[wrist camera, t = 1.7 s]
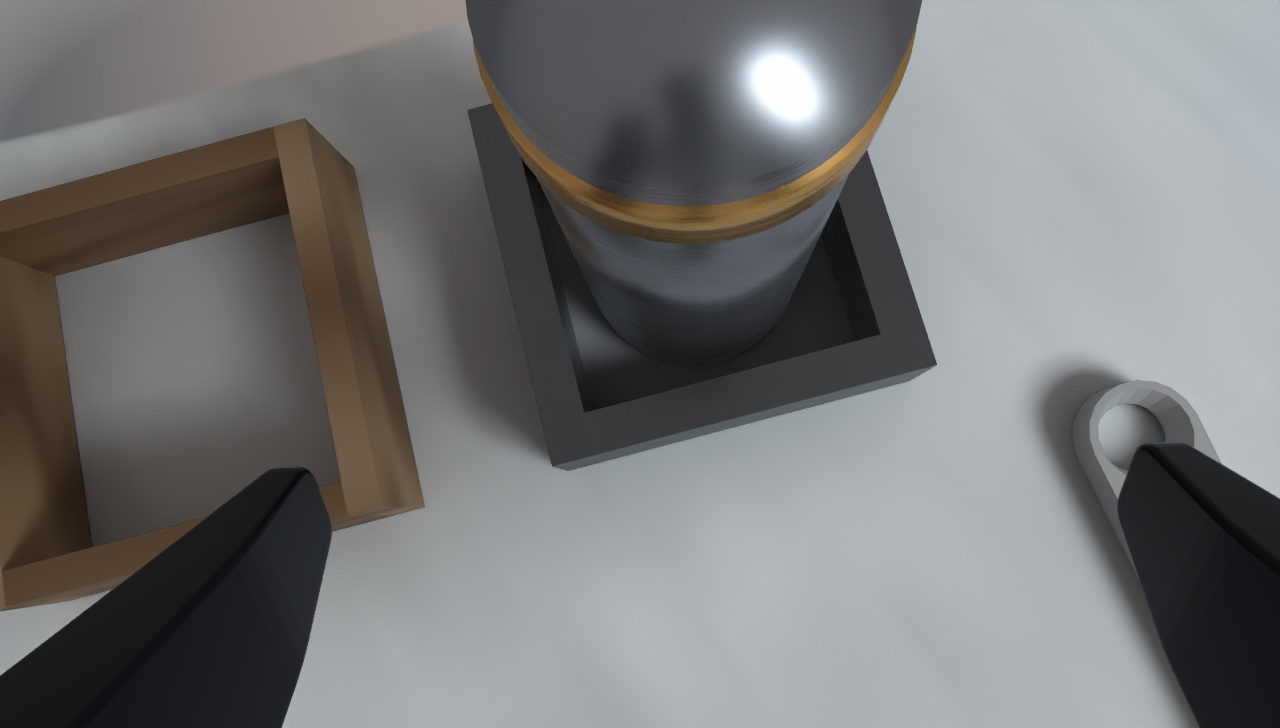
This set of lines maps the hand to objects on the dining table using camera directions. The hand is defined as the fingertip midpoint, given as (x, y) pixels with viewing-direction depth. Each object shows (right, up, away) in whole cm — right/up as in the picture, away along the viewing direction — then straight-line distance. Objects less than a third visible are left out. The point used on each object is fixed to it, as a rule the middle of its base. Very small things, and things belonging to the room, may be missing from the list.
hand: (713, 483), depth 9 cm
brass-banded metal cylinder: (+1, +4, +13) cm, 14 cm away
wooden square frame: (-12, +1, +13) cm, 18 cm away
